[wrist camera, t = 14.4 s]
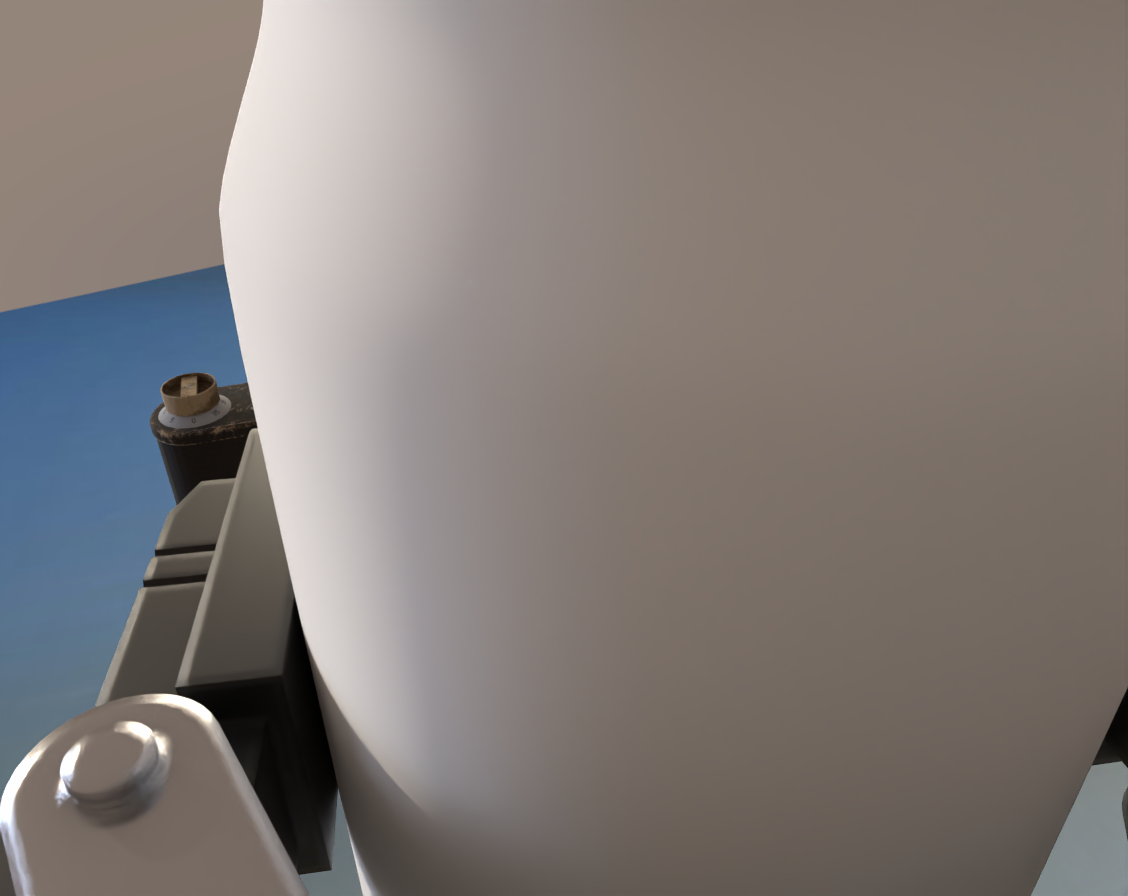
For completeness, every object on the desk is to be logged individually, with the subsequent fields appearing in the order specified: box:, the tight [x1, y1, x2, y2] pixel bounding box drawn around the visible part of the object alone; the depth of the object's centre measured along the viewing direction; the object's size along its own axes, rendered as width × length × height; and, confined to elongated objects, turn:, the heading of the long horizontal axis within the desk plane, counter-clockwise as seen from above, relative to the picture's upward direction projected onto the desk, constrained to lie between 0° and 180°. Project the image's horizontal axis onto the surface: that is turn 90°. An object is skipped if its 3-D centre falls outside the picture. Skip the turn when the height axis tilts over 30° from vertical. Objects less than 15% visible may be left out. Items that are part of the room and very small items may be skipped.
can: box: [219, 0, 1128, 896], centre depth 8 cm, size 6×6×12 cm
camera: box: [150, 373, 258, 505], centre depth 35 cm, size 16×7×8 cm, turn 108°
